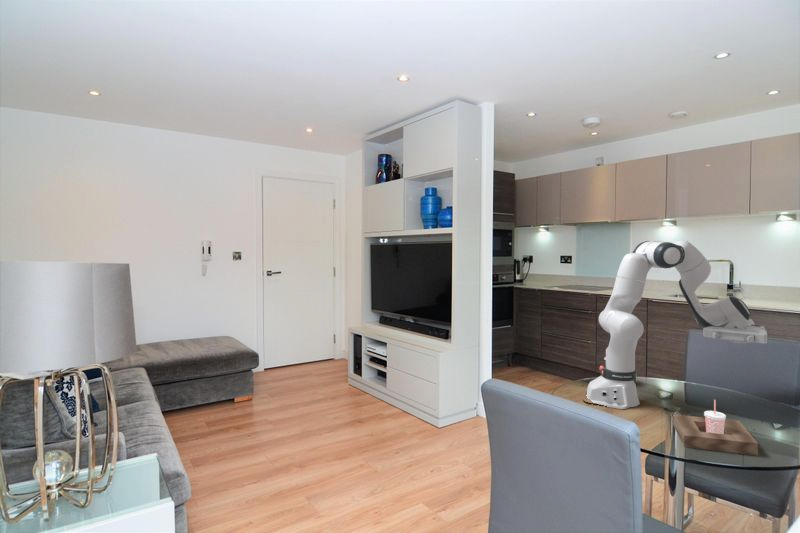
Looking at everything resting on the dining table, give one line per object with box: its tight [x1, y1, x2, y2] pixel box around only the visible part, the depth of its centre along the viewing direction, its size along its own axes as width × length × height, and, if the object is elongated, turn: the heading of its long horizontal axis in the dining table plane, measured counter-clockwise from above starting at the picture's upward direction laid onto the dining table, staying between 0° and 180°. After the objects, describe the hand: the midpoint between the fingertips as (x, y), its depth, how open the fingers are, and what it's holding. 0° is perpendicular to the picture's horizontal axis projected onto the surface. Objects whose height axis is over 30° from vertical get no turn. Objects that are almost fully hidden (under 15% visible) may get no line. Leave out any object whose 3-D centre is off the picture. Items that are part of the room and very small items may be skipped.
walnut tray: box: [672, 414, 759, 457], centre depth 151 cm, size 20×18×4 cm
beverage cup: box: [703, 399, 727, 434], centre depth 150 cm, size 6×6×14 cm
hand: (730, 338), depth 168 cm, fingers open, 8 cm apart
